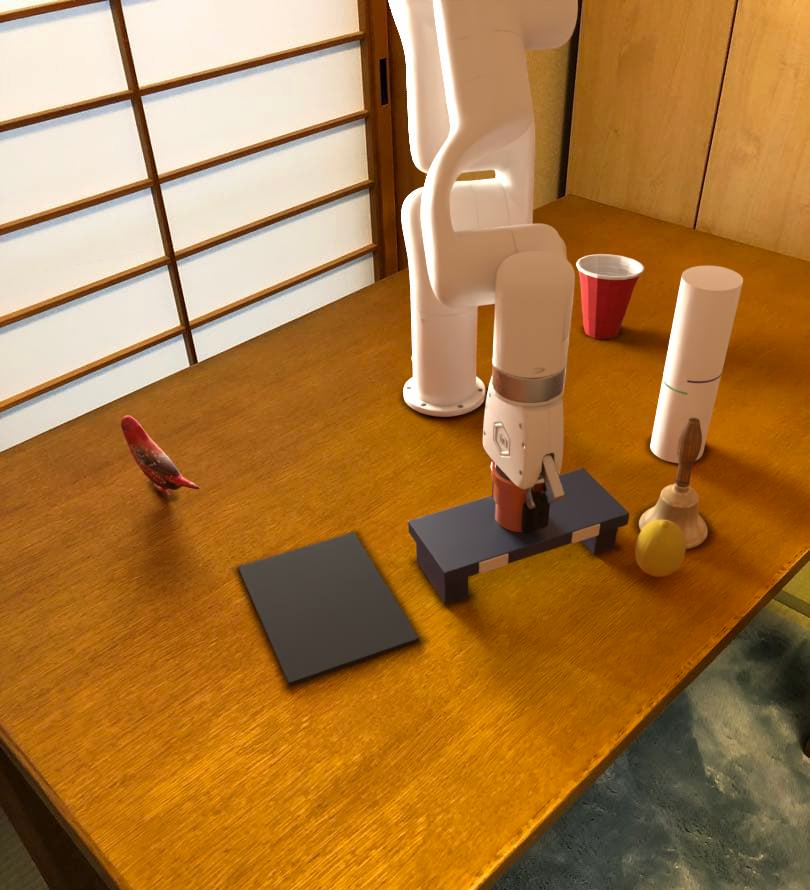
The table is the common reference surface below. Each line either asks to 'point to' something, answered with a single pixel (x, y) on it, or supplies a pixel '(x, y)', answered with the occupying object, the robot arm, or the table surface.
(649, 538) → the lemon
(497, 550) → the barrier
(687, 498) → the hand bell
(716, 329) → the cylindrical container
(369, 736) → the table surface
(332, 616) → the mat
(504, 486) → the pot
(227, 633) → the table surface
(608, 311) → the plastic cup
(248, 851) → the table surface
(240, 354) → the table surface
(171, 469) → the decorative bird figurine
